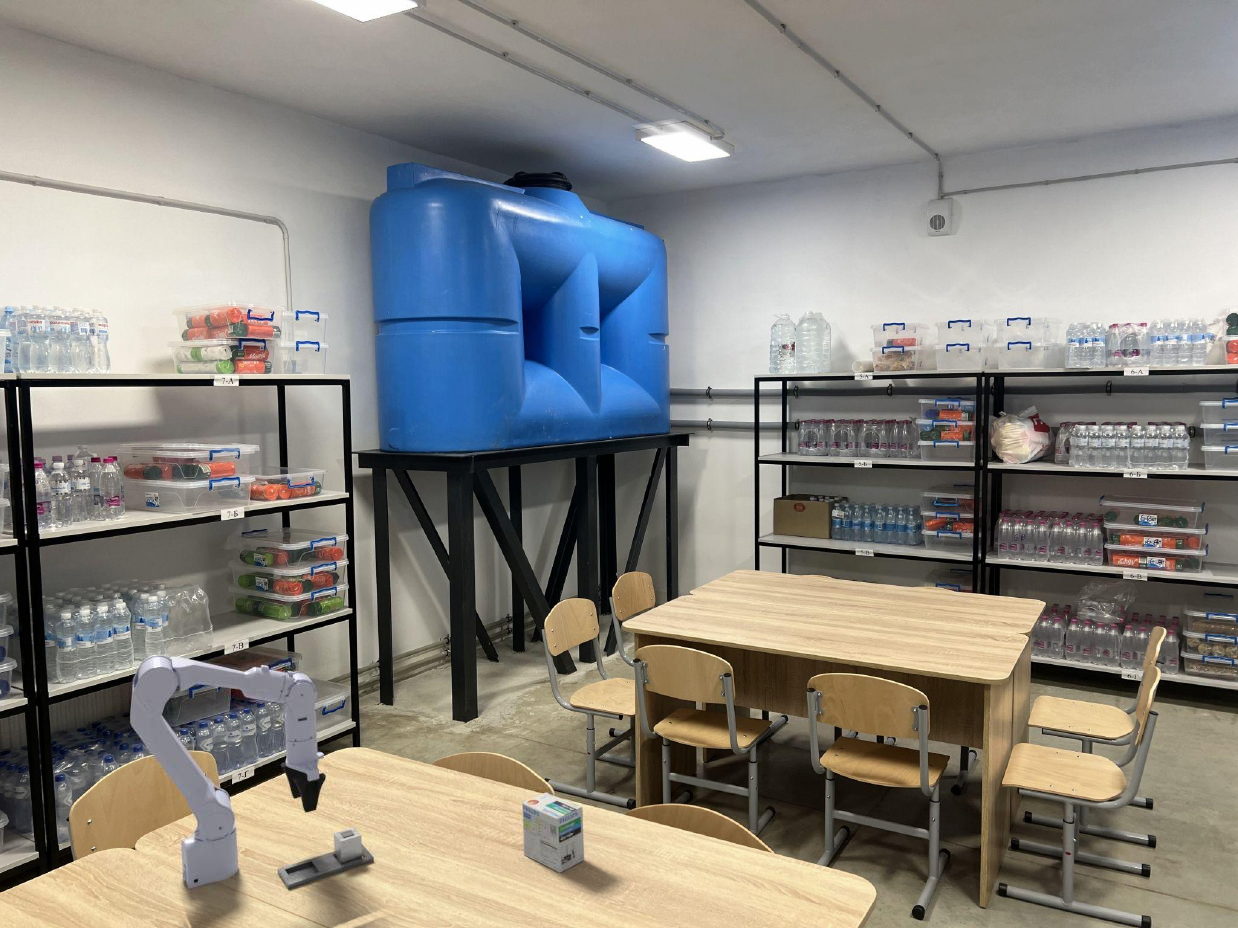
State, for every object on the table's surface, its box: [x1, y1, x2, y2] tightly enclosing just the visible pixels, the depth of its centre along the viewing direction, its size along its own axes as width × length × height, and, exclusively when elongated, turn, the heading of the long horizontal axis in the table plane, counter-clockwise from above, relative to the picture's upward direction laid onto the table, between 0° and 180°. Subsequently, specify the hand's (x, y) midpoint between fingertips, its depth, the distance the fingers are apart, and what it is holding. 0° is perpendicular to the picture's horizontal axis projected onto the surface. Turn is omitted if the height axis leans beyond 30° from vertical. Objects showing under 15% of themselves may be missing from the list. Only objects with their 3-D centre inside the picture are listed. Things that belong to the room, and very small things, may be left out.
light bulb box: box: [521, 792, 585, 874], centre depth 174 cm, size 11×7×11 cm, turn 47°
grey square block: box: [333, 827, 363, 865], centre depth 173 cm, size 4×4×5 cm
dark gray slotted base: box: [277, 844, 375, 890], centre depth 171 cm, size 16×7×2 cm, turn 126°
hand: (304, 803), depth 177 cm, fingers open, 7 cm apart
